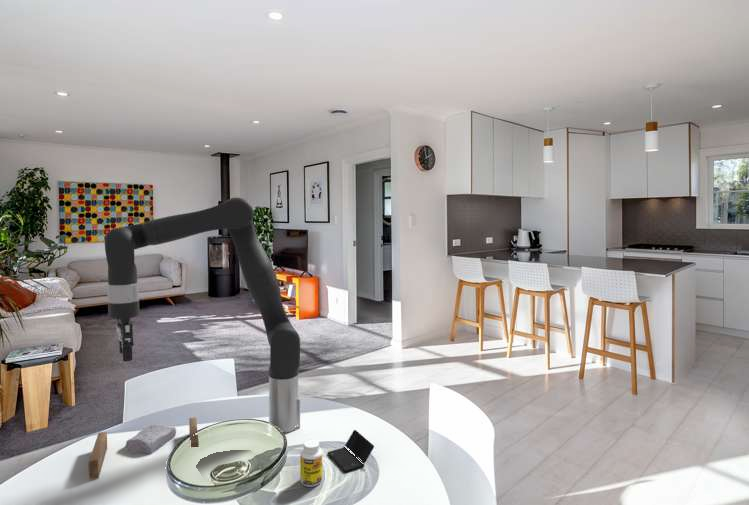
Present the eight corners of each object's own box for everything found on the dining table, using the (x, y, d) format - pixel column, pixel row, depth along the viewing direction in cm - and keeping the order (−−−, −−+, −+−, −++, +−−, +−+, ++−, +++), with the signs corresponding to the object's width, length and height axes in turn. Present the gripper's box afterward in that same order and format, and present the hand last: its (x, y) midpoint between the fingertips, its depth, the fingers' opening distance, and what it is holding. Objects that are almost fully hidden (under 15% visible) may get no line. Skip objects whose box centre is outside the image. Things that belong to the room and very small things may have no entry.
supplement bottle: (301, 489, 111) (301, 450, 110) (299, 476, 117) (299, 439, 116) (323, 486, 112) (323, 447, 112) (320, 474, 118) (321, 436, 117)
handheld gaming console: (321, 452, 126) (341, 420, 128) (336, 459, 130) (355, 428, 133) (345, 476, 117) (366, 442, 120) (360, 482, 122) (380, 449, 124)
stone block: (123, 458, 127) (153, 455, 125) (120, 441, 127) (150, 438, 125) (151, 439, 139) (179, 436, 137) (149, 424, 139) (177, 421, 137)
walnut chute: (196, 432, 139) (196, 417, 138) (198, 458, 124) (198, 441, 124) (99, 449, 128) (98, 432, 128) (89, 480, 113) (88, 461, 113)
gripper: (142, 302, 120) (144, 361, 121) (135, 294, 131) (137, 348, 133) (110, 305, 115) (112, 366, 117) (105, 296, 127) (108, 352, 128)
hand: (125, 356), depth 125 cm, fingers open, 8 cm apart
